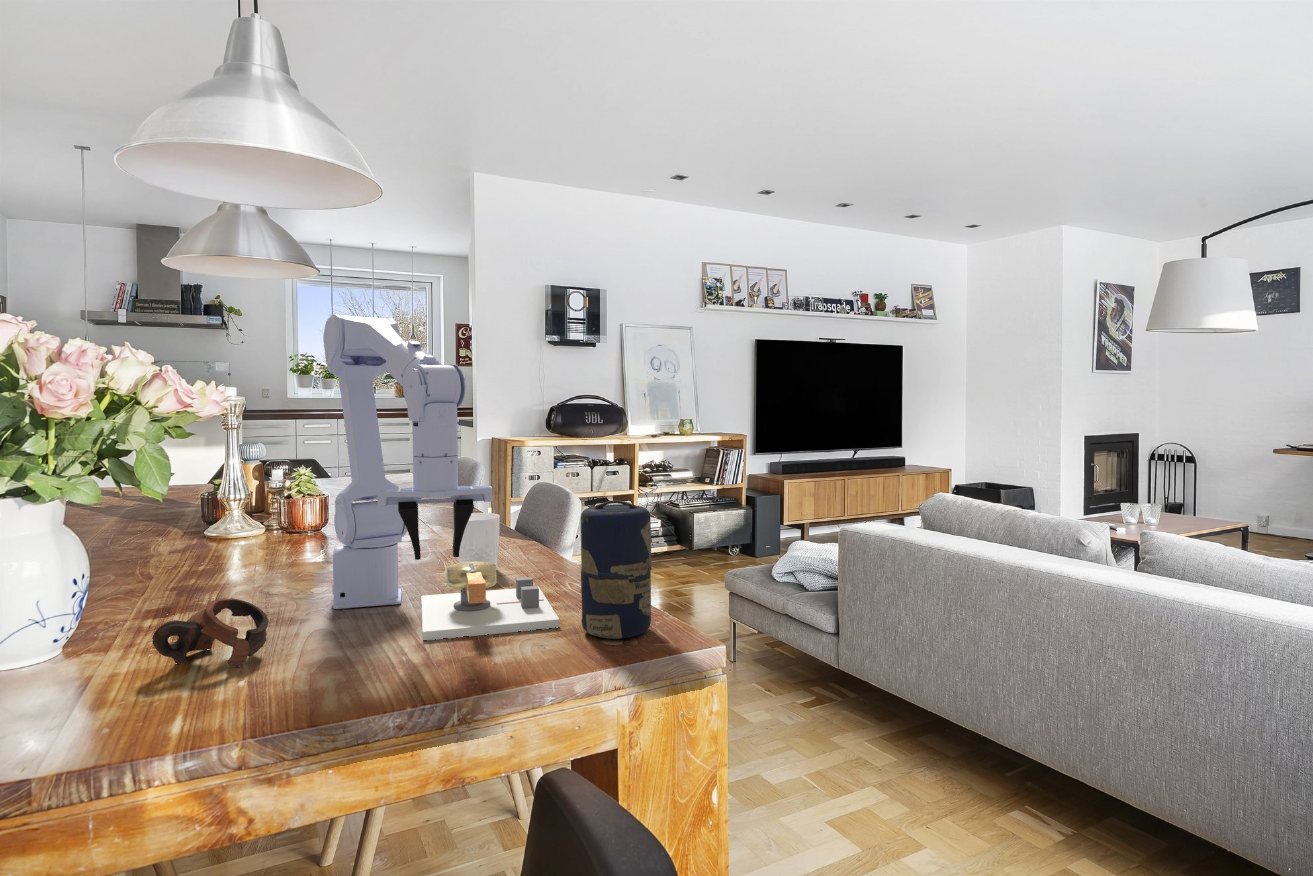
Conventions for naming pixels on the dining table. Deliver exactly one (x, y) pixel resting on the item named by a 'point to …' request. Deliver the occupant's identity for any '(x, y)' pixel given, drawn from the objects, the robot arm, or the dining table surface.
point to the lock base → (487, 612)
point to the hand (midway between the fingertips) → (437, 557)
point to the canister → (616, 570)
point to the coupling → (472, 579)
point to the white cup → (480, 539)
